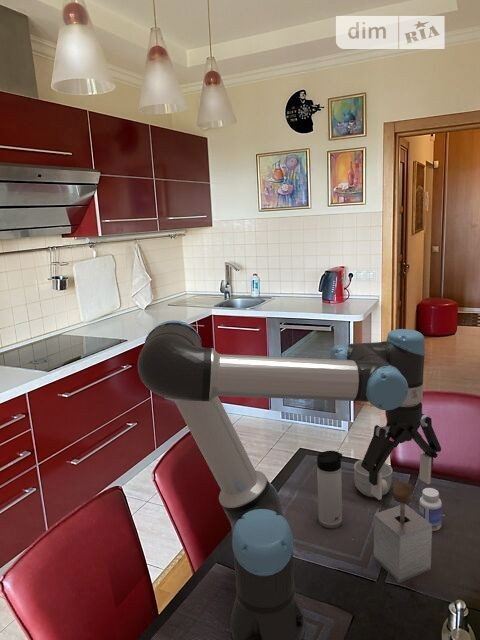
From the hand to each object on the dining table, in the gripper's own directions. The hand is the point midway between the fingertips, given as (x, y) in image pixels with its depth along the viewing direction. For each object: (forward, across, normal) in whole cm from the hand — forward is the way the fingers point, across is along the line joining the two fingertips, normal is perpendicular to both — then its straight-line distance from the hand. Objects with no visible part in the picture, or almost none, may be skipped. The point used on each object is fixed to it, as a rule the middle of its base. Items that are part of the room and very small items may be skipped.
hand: (401, 488), depth 111 cm
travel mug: (+20, -5, +21) cm, 30 cm away
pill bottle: (+20, +17, +8) cm, 27 cm away
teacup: (+20, +13, +26) cm, 35 cm away
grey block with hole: (+20, +1, +1) cm, 20 cm away
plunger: (+17, +1, 0) cm, 18 cm away
